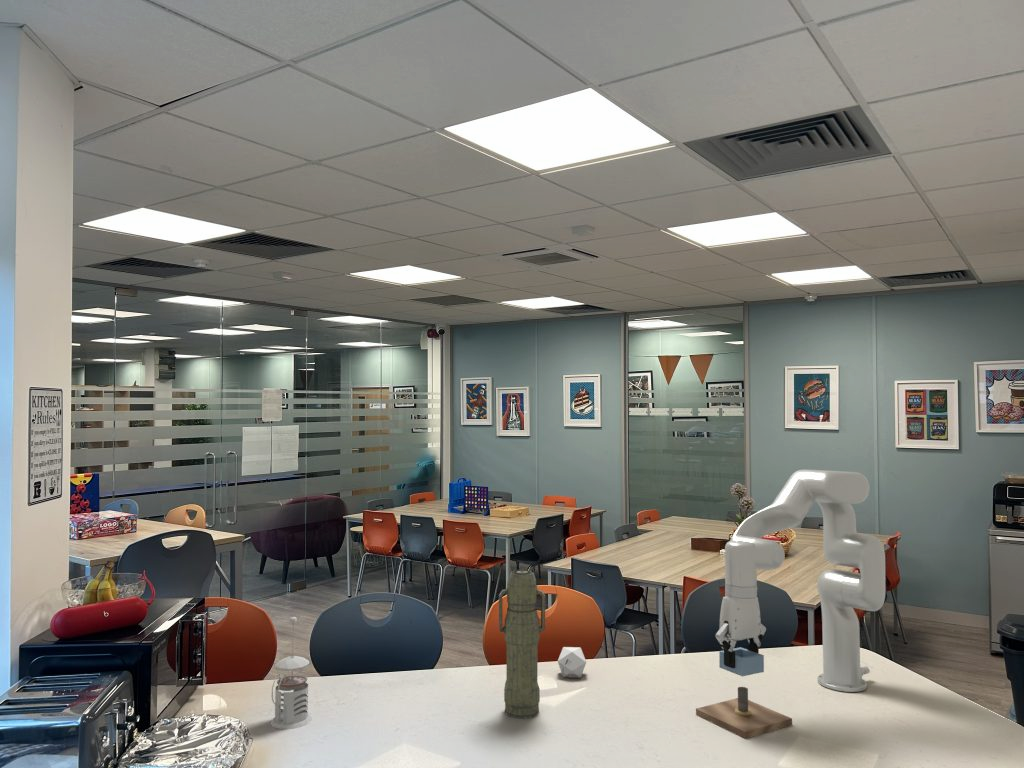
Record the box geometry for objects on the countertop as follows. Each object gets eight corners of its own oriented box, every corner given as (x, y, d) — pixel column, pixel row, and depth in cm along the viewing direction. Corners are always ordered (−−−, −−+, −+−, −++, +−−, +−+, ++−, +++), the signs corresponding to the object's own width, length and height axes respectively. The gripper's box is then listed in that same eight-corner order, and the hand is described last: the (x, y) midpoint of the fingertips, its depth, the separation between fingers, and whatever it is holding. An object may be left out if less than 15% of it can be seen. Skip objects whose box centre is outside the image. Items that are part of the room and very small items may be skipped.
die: (552, 674, 213) (551, 654, 208) (569, 654, 218) (569, 634, 213) (574, 690, 208) (574, 670, 203) (591, 669, 214) (592, 649, 208)
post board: (741, 702, 190) (741, 673, 190) (792, 724, 176) (791, 693, 176) (695, 714, 182) (695, 684, 182) (745, 738, 168) (744, 705, 168)
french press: (320, 715, 181) (321, 613, 182) (291, 734, 170) (293, 625, 171) (286, 710, 184) (288, 610, 186) (256, 728, 173) (258, 621, 175)
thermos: (548, 716, 180) (548, 574, 182) (501, 719, 179) (502, 575, 181) (541, 703, 189) (541, 567, 191) (496, 706, 187) (497, 568, 189)
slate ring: (740, 663, 184) (740, 647, 185) (763, 671, 178) (763, 655, 178) (719, 667, 181) (719, 651, 181) (742, 676, 174) (742, 659, 175)
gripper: (753, 585, 188) (754, 655, 187) (704, 591, 180) (704, 665, 178) (777, 591, 182) (777, 663, 180) (726, 598, 173) (727, 674, 172)
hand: (741, 663), depth 179 cm, fingers closed on slate ring, 7 cm apart
